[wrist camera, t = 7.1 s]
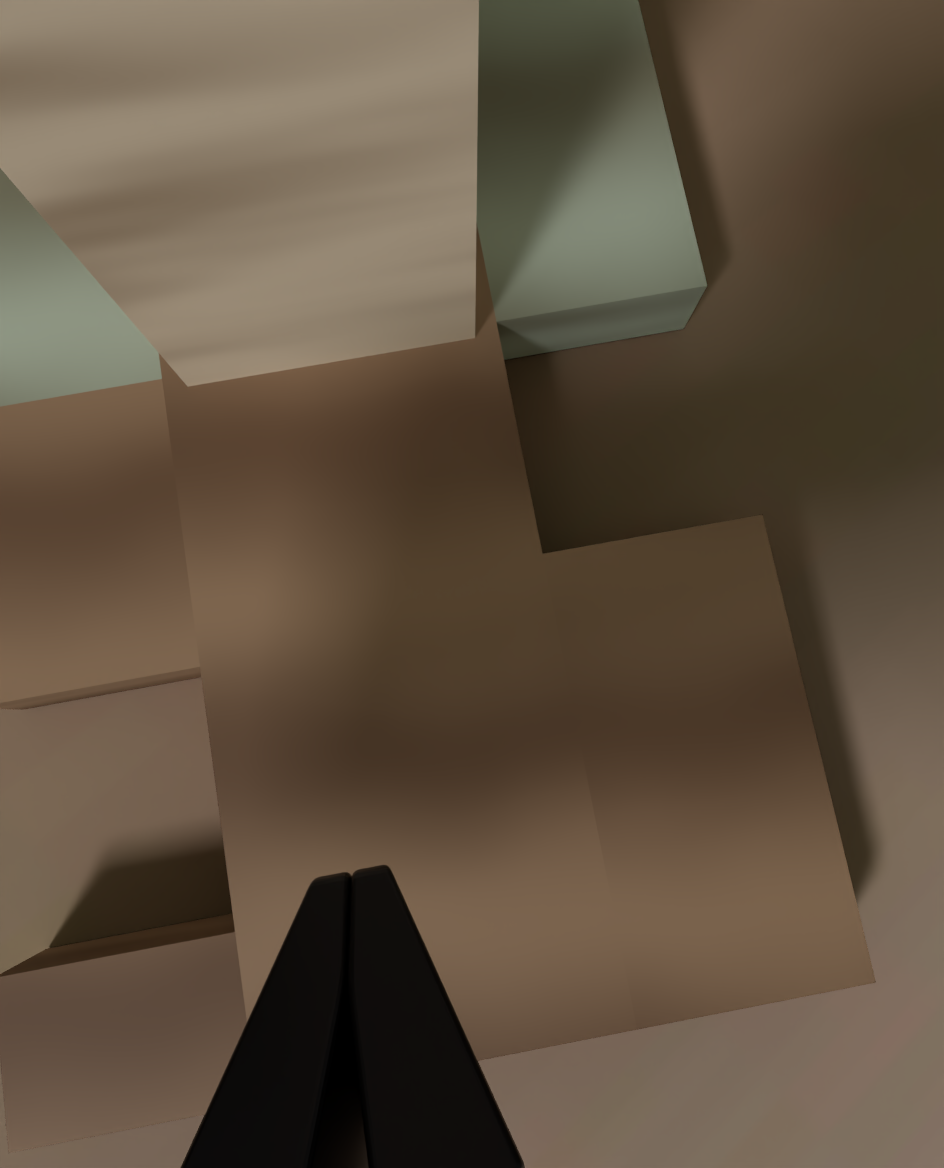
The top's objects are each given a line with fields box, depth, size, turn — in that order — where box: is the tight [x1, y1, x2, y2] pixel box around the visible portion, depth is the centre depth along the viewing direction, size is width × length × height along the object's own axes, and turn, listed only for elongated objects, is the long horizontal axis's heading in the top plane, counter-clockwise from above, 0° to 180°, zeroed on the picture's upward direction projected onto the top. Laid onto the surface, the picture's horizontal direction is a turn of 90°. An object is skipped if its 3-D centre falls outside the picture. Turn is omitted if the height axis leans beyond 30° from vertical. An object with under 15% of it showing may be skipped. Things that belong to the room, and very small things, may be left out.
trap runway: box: [0, 0, 876, 1153], centre depth 17 cm, size 24×16×5 cm, turn 10°
